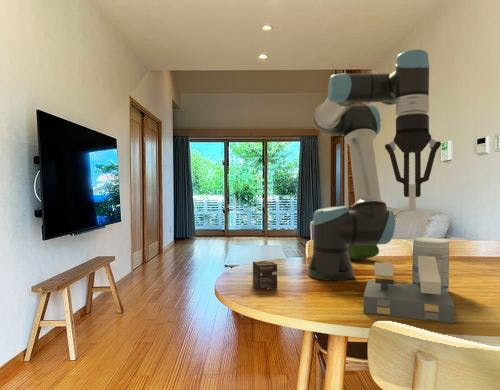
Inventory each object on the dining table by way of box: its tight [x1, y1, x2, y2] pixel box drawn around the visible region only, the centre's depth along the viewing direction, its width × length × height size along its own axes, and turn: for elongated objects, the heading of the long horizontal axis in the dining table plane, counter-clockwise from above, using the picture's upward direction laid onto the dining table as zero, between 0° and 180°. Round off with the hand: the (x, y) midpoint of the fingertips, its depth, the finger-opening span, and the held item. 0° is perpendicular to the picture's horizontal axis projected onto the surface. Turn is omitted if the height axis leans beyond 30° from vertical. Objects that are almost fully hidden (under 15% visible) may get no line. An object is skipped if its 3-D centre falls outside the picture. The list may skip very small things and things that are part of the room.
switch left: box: [374, 261, 394, 279], centre depth 93 cm, size 4×14×3 cm, turn 158°
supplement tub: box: [411, 237, 450, 293], centre depth 106 cm, size 10×10×15 cm
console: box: [362, 277, 455, 324], centre depth 91 cm, size 19×16×7 cm
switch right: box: [418, 256, 441, 295], centre depth 89 cm, size 4×14×3 cm, turn 158°
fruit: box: [348, 245, 380, 261], centre depth 153 cm, size 15×10×10 cm, turn 47°
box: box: [252, 260, 278, 290], centre depth 110 cm, size 6×6×7 cm
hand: (412, 210), depth 91 cm, fingers closed
